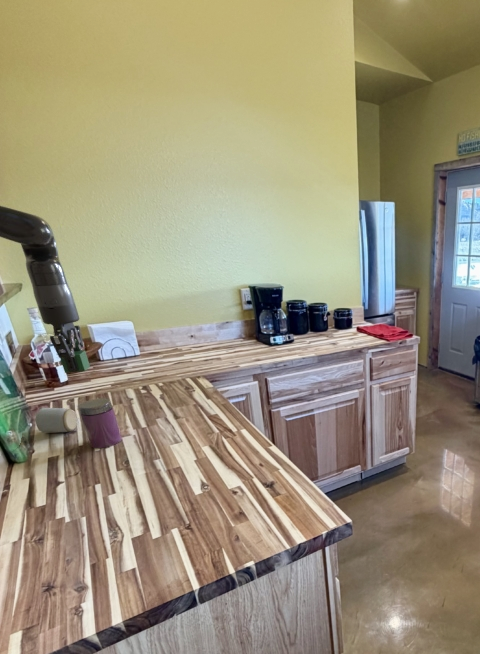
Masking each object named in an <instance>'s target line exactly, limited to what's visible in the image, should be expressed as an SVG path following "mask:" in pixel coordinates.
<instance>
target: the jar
mask: <svg viewBox="0 0 480 654" xmlns="http://www.w3.org/2000/svg"><path fill="white" fill-rule="evenodd" d="M79 417H80V419H81V423H82V425H83V428H84V431H85V434H86V438H87V440H88V443H89V446H90V448H92V449H93V448H94V449H103V448H104V449H105V448H110V447H112V446H114V445H117V444H118V443H120V442H121V441H122V440H123V436H122V433H121V429H120V427H119V423H118V419H117V416H116V412H115V409H114V406H112V408H111V409H110V410H108V411H106V412H103V413H100V414H94V415H83V414H81V413H80V412H79Z"/></svg>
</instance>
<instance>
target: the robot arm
mask: <svg viewBox="0 0 480 654" xmlns="http://www.w3.org/2000/svg"><path fill="white" fill-rule="evenodd" d="M0 238H3V239H5V240H8V241H11V242H14V243H18V244H20V245H21V249H22V252H23V254H24V257H25V267H26V272H27V274H28V278H29V280H30V284H31V286H32V291H33V297H34V299H35V303H36V305H37V308H38V312H39V314H40V317H41V319H42V322H43V324H46V325H50V326H52V328H53V335H50V336H49V340H50V342H51V344H52V346H53V348H54V350H55V352H56V354H57V357H58V358H59V359H60V358H64V359H65V362H66V365H67V368H68V371H69V372H70V373H78V372H77V371H78V370H79V368H78V365H77V362H76V359H75V355H74V351H83V349H84V347H85V346H84V342H83V337H82V332H81V327H80V325H75V324H74V323H77V322H78V321H80V315H79V313H78V308H77V306H76V302H75V299H74V296H73V292H72V290H71V288H70V286H69V284H68V281H67V277H66V274H65V271H64V268H63V265H62V263H61V261H60V257H59V251H58V247H57V243H56V238H55V234H54V231H53V228H52V227H51V225H50V224H49V222H47V220H45V219H44V218H42V217H41V216H39V215H36V214H32V213H28V212H25V211H22V210H18V209H14V208H12V207H8V206H7V207H6V206H4V205H0Z"/></svg>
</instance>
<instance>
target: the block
mask: <svg viewBox="0 0 480 654" xmlns="http://www.w3.org/2000/svg"><path fill="white" fill-rule="evenodd" d="M74 355H75V359H76V362H77V365H78V368H79V370H78V371H77V372H76V373H79V372H86V371H87V370H88V369H89V368H90V367H91V365H90V362H89V359H88V356H87V352H86V350H82V351H74ZM59 359H60V363H61V366H62V368H63V371H64V374H69V373H70V374H71V372H69V371H68V368H67V365H66V362H65V359H64V358H59Z"/></svg>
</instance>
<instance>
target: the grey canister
mask: <svg viewBox="0 0 480 654" xmlns="http://www.w3.org/2000/svg"><path fill="white" fill-rule="evenodd" d="M79 423H80V418H79V417H78V415H77V413H76V411H74V410H73V409H71V408H67V407H66V408H65V407H64V408H63V407H62V408H61V407H41V408H39V410H38V411H37V412H36V415H35V425H36V428H37V429H38V431H39V432H40V433H42V434H51V433H53V434H55V433H56V434H57V433H69V432H72V431H74V430H75V429H76V428H77V426H78V424H79Z"/></svg>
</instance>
